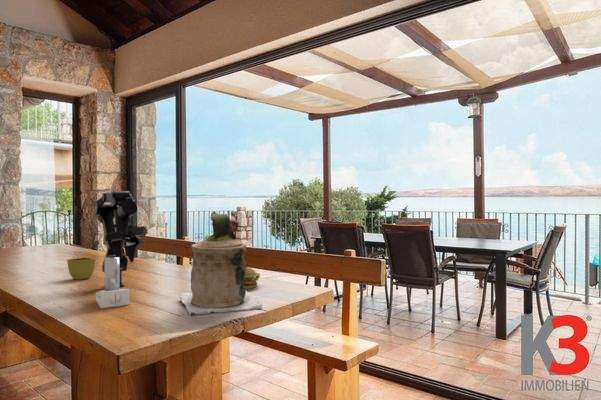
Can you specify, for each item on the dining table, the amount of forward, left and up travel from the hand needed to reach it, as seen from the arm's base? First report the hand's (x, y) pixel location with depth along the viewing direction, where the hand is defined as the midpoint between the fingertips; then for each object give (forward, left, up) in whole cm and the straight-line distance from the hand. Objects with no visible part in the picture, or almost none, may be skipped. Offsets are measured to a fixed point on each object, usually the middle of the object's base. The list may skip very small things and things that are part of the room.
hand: (126, 261), depth 159 cm
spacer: (+11, -7, -9) cm, 15 cm away
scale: (+12, -7, -12) cm, 18 cm away
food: (+13, +43, -13) cm, 47 cm away
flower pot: (-43, -12, -13) cm, 47 cm away
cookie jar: (+34, +24, -13) cm, 44 cm away
